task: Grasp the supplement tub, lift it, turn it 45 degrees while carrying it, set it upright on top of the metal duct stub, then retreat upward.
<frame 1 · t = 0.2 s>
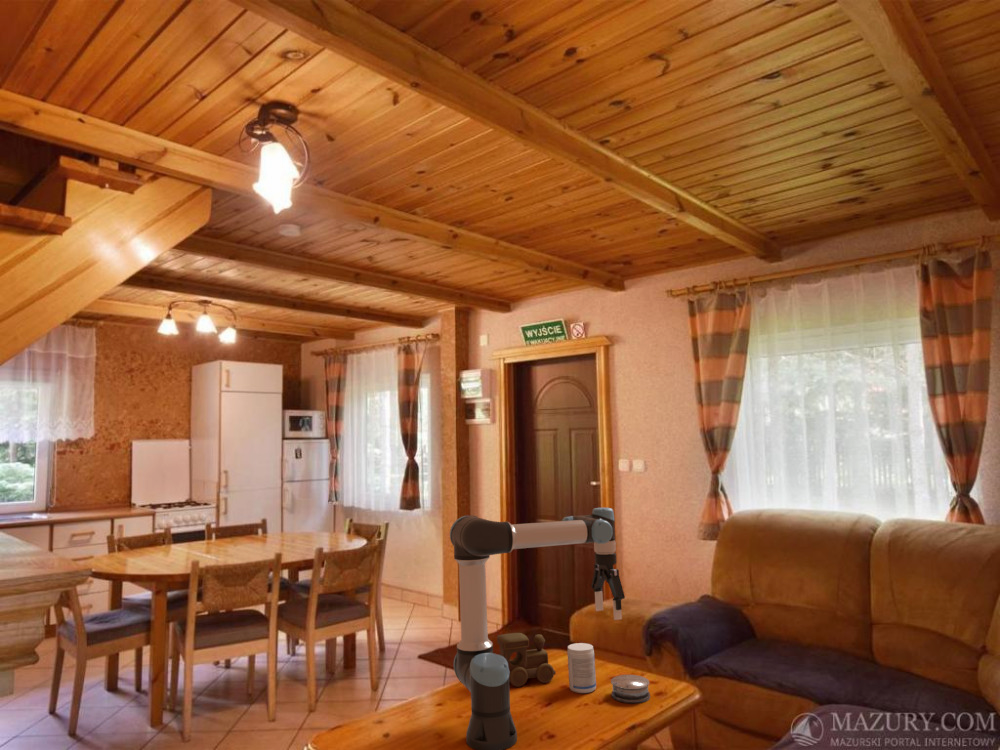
hand: (608, 614, 229), 28 cm above the table, fingers open, 13 cm apart
supplement tub: (582, 689, 235), on the table
wooden toy train: (527, 681, 245), on the table
duct stub: (630, 696, 226), on the table
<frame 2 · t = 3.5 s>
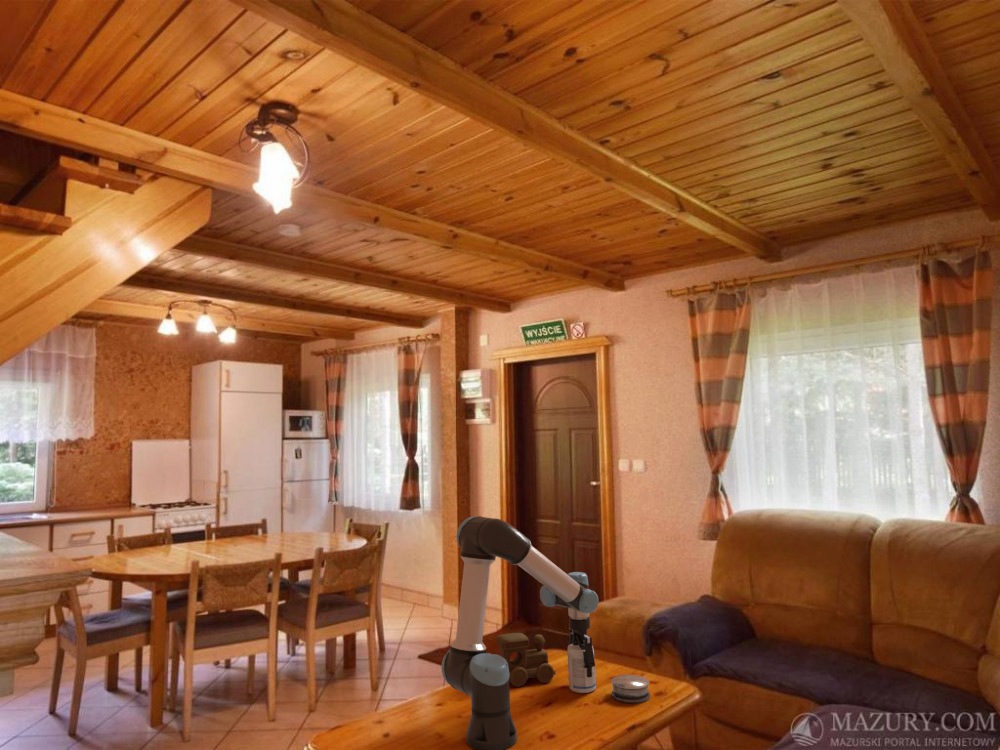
hand: (582, 681, 235), 3 cm above the table, fingers closed on supplement tub, 10 cm apart
supplement tub: (582, 689, 235), on the table, touching gripper
everything else where it was.
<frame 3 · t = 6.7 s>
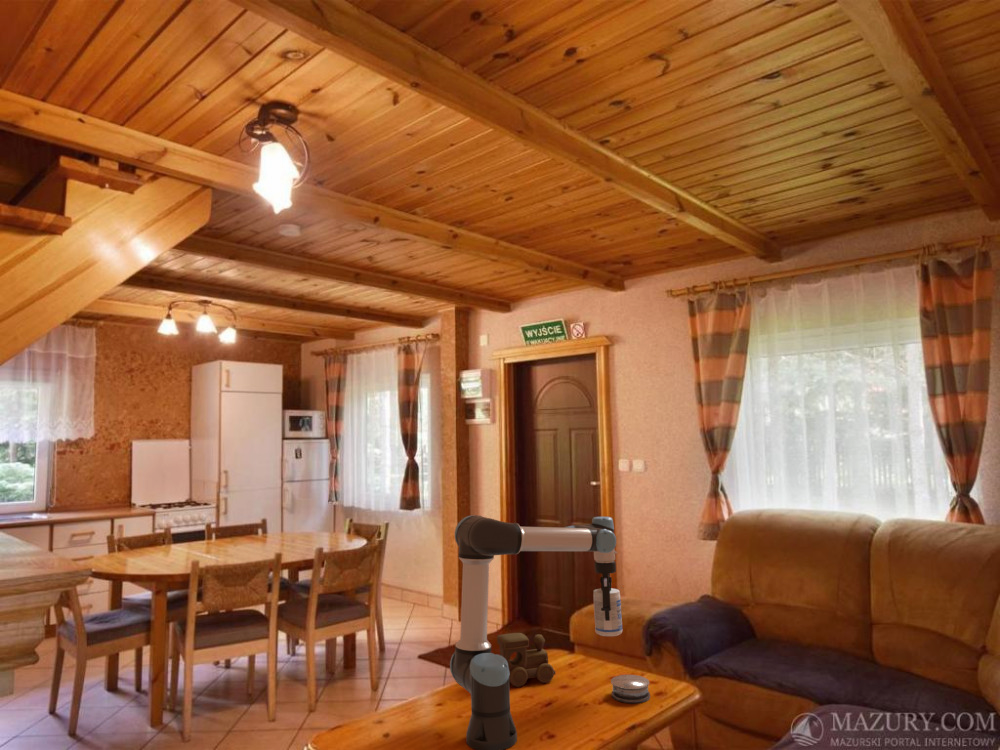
hand: (608, 625, 232), 23 cm above the table, fingers closed on supplement tub, 10 cm apart
supplement tub: (608, 633, 232), point 20 cm above the table, touching gripper
everything else where it was.
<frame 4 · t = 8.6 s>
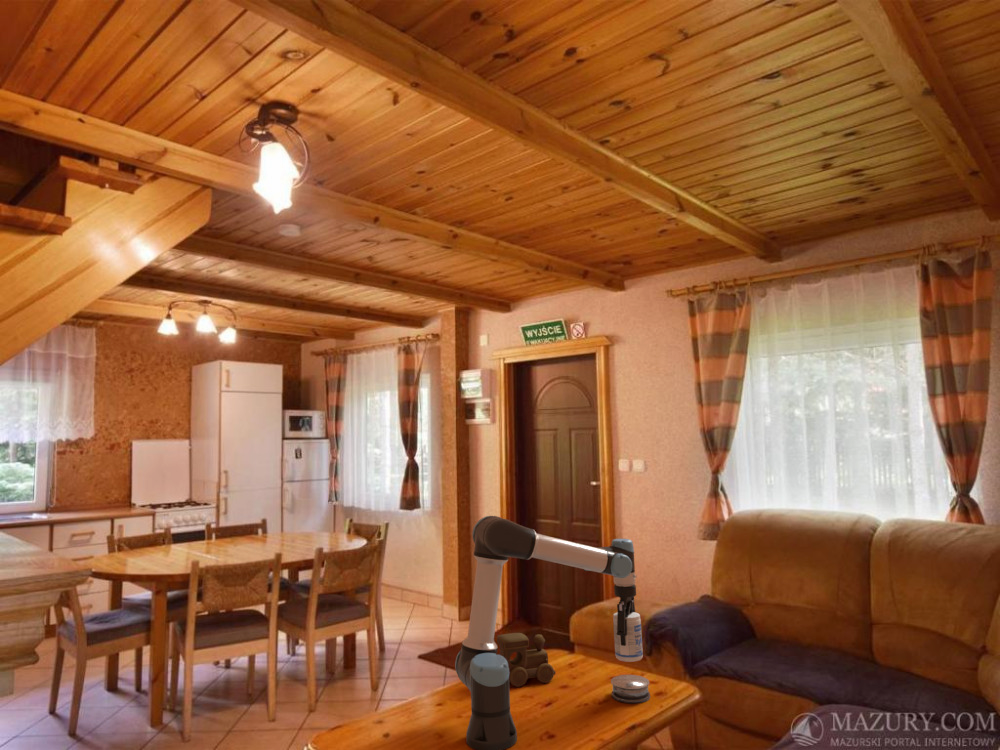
hand: (628, 650, 228), 15 cm above the table, fingers closed on supplement tub, 10 cm apart
supplement tub: (629, 658, 228), point 12 cm above the table, touching gripper
everything else where it was.
when the fingers open (9 cm above the table, at t = 10.3 s): supplement tub drops 1 cm, resting on duct stub.
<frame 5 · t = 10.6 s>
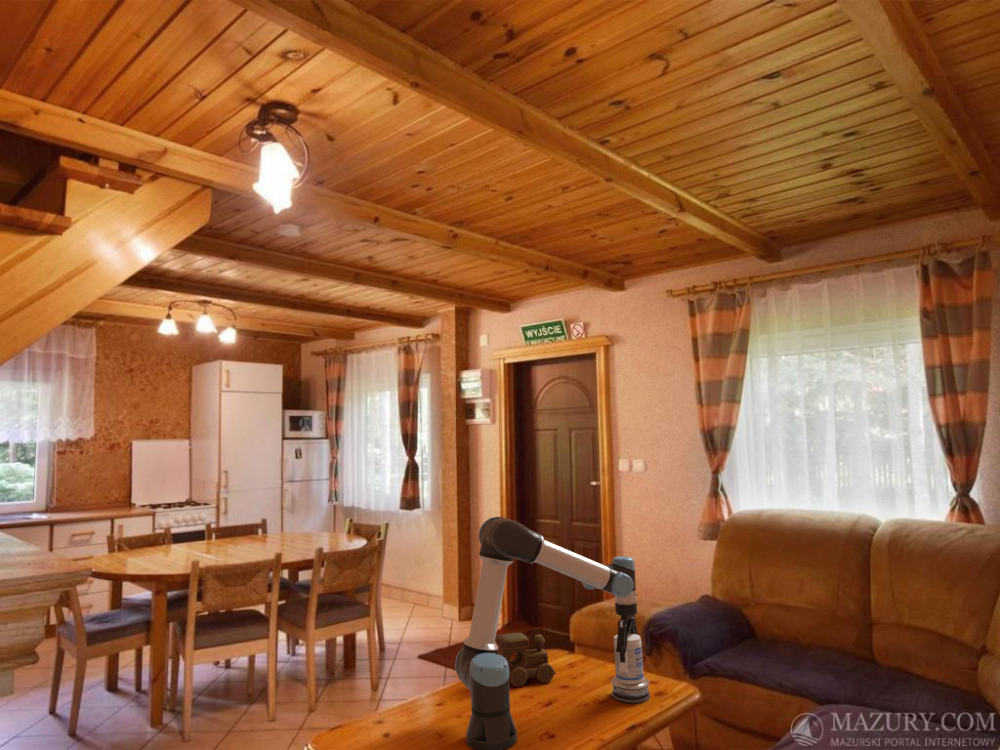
hand: (629, 665, 227), 10 cm above the table, fingers open, 13 cm apart
supplement tub: (630, 681, 227), point 5 cm above the table, touching duct stub
everything else where it was.
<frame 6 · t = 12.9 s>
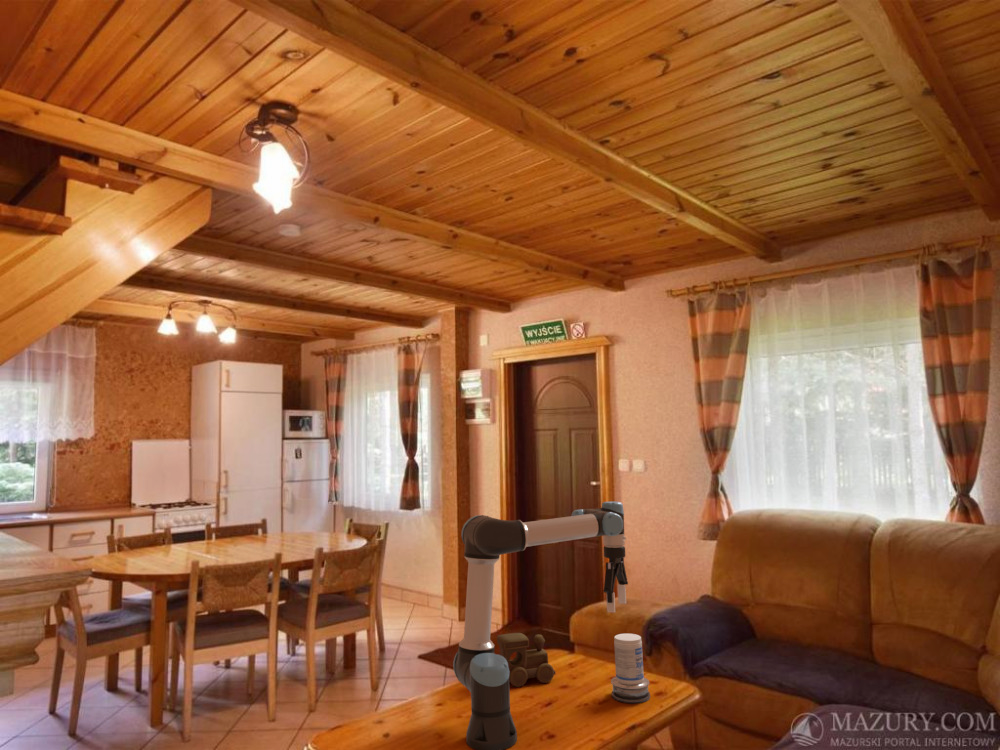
hand: (616, 607, 231), 29 cm above the table, fingers open, 13 cm apart
nothing on the table moved.
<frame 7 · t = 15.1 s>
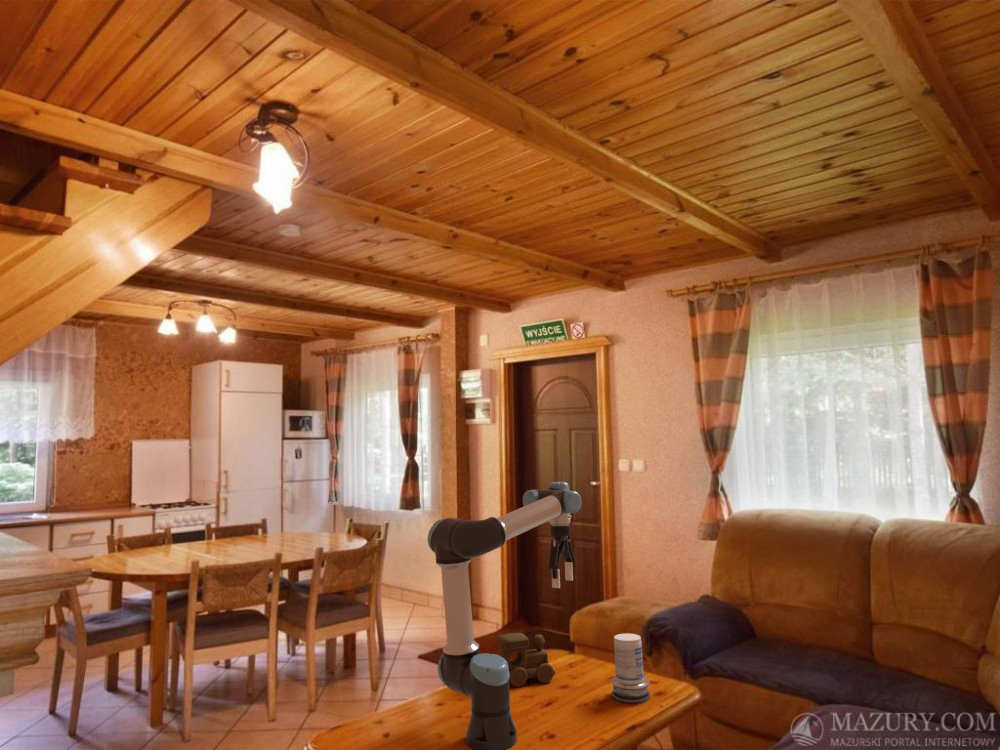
hand: (562, 584, 239), 37 cm above the table, fingers open, 13 cm apart
nothing on the table moved.
at the end: supplement tub 0.2 cm from the duct stub (horizontally); supplement tub point 4.8 cm above the table; supplement tub tilted 0° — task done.
